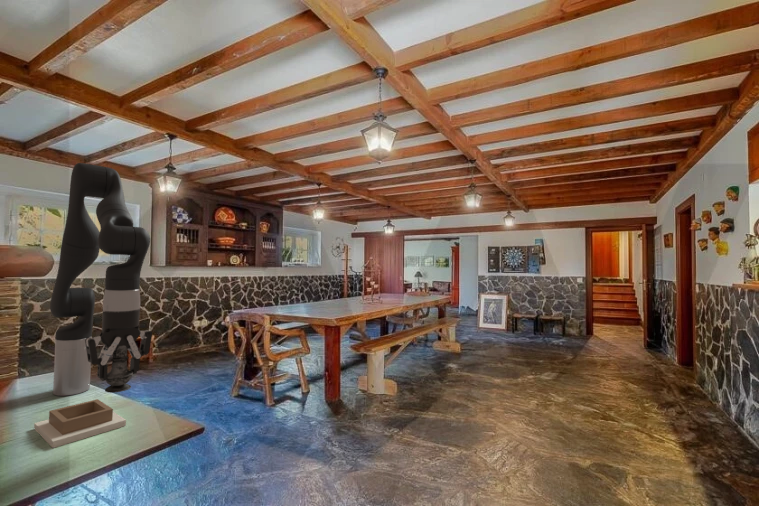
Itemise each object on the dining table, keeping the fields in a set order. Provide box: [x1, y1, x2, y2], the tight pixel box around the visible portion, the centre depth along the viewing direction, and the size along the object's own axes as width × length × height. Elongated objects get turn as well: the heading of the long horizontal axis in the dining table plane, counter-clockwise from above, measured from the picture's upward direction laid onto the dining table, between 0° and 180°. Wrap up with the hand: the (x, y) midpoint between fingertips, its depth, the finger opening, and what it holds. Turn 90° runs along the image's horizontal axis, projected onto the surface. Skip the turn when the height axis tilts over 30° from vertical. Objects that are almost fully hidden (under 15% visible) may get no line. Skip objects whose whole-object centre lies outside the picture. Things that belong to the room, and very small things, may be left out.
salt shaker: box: [104, 345, 134, 394], centre depth 93 cm, size 6×6×12 cm
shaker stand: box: [33, 398, 127, 449], centre depth 98 cm, size 15×15×4 cm
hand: (118, 376), depth 92 cm, fingers closed on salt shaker, 6 cm apart
